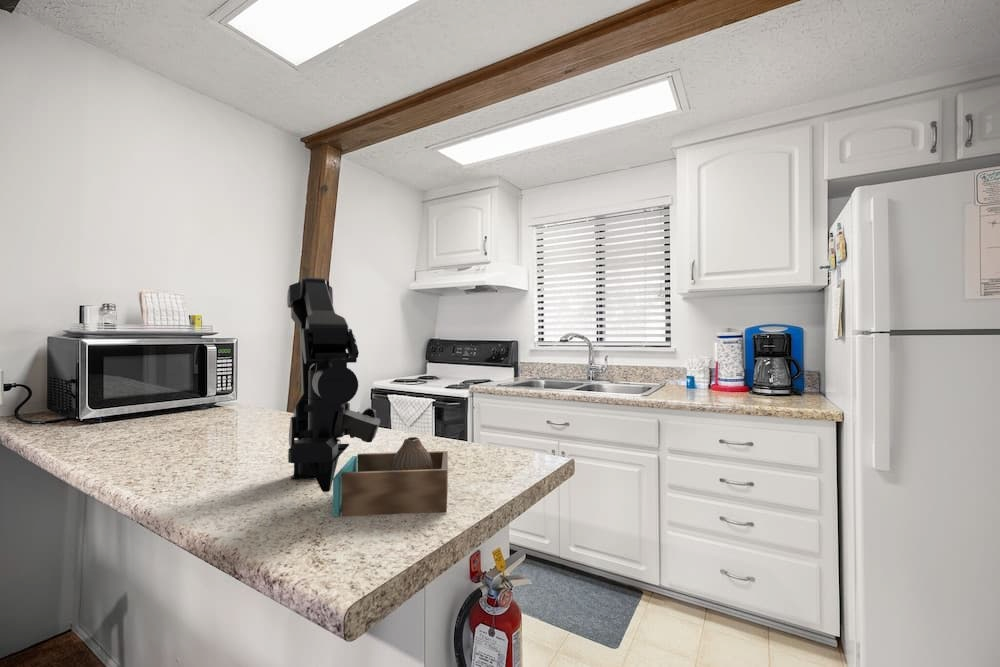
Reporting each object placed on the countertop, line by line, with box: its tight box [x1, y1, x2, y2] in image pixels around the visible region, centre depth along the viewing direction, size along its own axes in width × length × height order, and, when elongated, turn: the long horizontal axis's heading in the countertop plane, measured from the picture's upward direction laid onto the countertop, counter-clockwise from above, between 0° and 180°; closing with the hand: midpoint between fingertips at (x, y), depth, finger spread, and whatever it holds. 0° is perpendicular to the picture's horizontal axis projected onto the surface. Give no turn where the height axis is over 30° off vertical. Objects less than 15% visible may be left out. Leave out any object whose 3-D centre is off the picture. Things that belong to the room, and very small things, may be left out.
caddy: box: [340, 450, 449, 517], centre depth 74 cm, size 16×12×6 cm
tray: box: [332, 455, 357, 517], centre depth 74 cm, size 16×13×6 cm
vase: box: [391, 436, 433, 471], centre depth 74 cm, size 7×7×9 cm
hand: (326, 491), depth 73 cm, fingers closed
